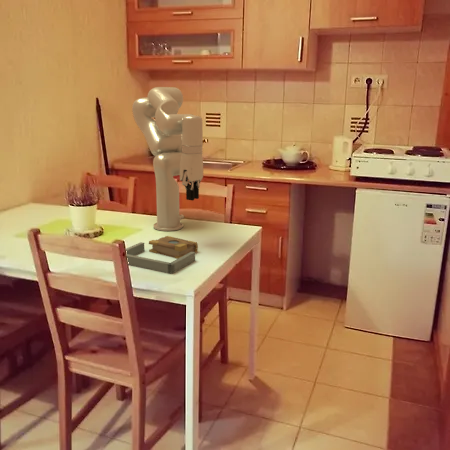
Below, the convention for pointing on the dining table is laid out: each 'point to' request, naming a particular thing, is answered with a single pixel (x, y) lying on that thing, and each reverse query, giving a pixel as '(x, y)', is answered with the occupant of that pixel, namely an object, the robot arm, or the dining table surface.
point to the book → (173, 246)
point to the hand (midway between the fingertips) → (192, 198)
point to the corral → (157, 264)
